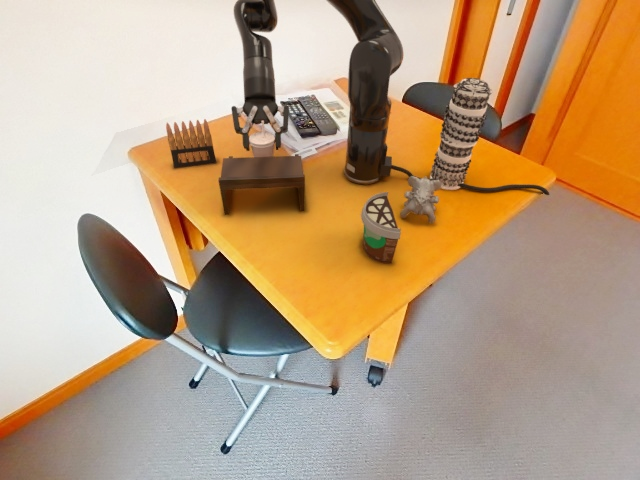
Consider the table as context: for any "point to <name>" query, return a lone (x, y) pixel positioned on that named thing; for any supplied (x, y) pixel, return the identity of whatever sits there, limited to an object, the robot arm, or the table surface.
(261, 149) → the smoothie
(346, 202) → the table surface
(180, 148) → the ammunition clip
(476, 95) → the white patterned cylinder
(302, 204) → the stand
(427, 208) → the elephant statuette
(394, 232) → the food container
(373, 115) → the robot arm
